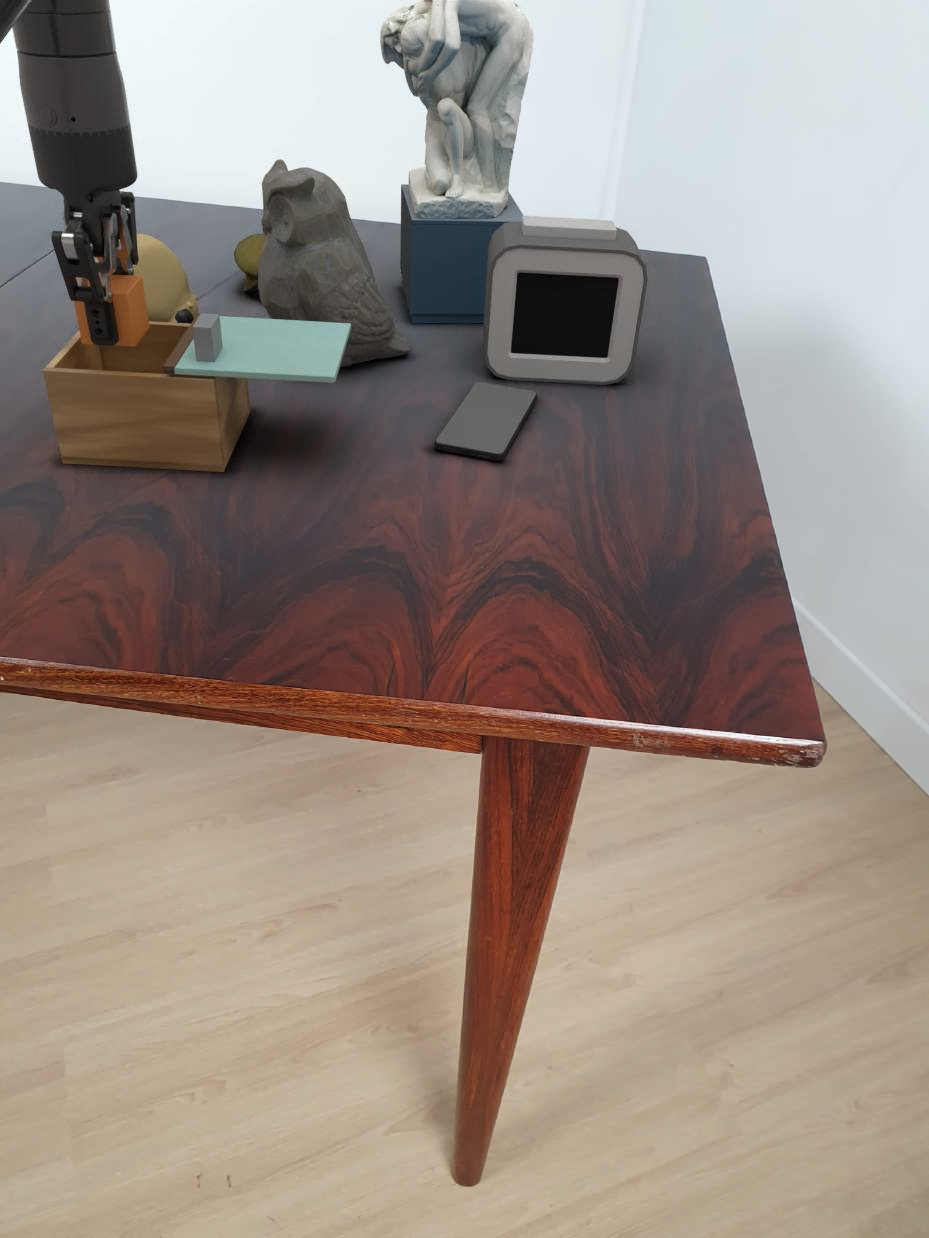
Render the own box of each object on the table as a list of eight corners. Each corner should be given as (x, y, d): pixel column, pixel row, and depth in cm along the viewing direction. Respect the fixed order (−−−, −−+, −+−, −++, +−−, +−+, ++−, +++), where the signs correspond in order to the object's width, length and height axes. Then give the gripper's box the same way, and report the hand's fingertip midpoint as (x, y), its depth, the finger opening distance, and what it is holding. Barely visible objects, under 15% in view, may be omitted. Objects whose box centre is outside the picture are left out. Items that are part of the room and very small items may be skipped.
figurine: (254, 337, 113) (239, 150, 101) (389, 327, 118) (389, 147, 106) (276, 387, 103) (262, 184, 91) (423, 373, 107) (428, 179, 95)
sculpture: (385, 324, 119) (385, -19, 97) (377, 280, 131) (376, -32, 110) (522, 324, 121) (552, -11, 100) (502, 281, 134) (524, -25, 112)
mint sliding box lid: (335, 383, 83) (333, 342, 80) (163, 373, 82) (157, 332, 80) (351, 329, 92) (350, 291, 90) (198, 320, 92) (194, 282, 90)
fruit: (207, 283, 127) (201, 230, 123) (284, 266, 134) (281, 216, 130) (255, 308, 121) (251, 254, 117) (334, 290, 127) (333, 238, 123)
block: (81, 344, 84) (71, 290, 81) (98, 324, 88) (89, 272, 85) (135, 347, 84) (126, 294, 81) (149, 327, 88) (142, 276, 85)
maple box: (223, 472, 88) (213, 380, 83) (62, 463, 88) (42, 370, 82) (250, 412, 98) (242, 326, 92) (105, 404, 97) (89, 317, 92)
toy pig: (151, 375, 112) (215, 315, 109) (62, 297, 105) (128, 231, 102) (161, 339, 120) (222, 282, 116) (79, 265, 113) (141, 202, 109)
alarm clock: (482, 378, 107) (492, 231, 98) (481, 340, 116) (490, 202, 107) (630, 386, 108) (654, 240, 98) (618, 347, 117) (638, 210, 107)
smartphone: (432, 442, 93) (476, 380, 104) (432, 451, 93) (475, 388, 105) (502, 455, 91) (539, 391, 103) (502, 464, 92) (538, 399, 103)
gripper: (98, 140, 70) (134, 367, 80) (152, 103, 81) (178, 306, 92) (-8, 134, 70) (42, 362, 80) (61, 98, 81) (98, 302, 91)
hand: (115, 331), depth 86 cm, fingers closed on block, 4 cm apart
